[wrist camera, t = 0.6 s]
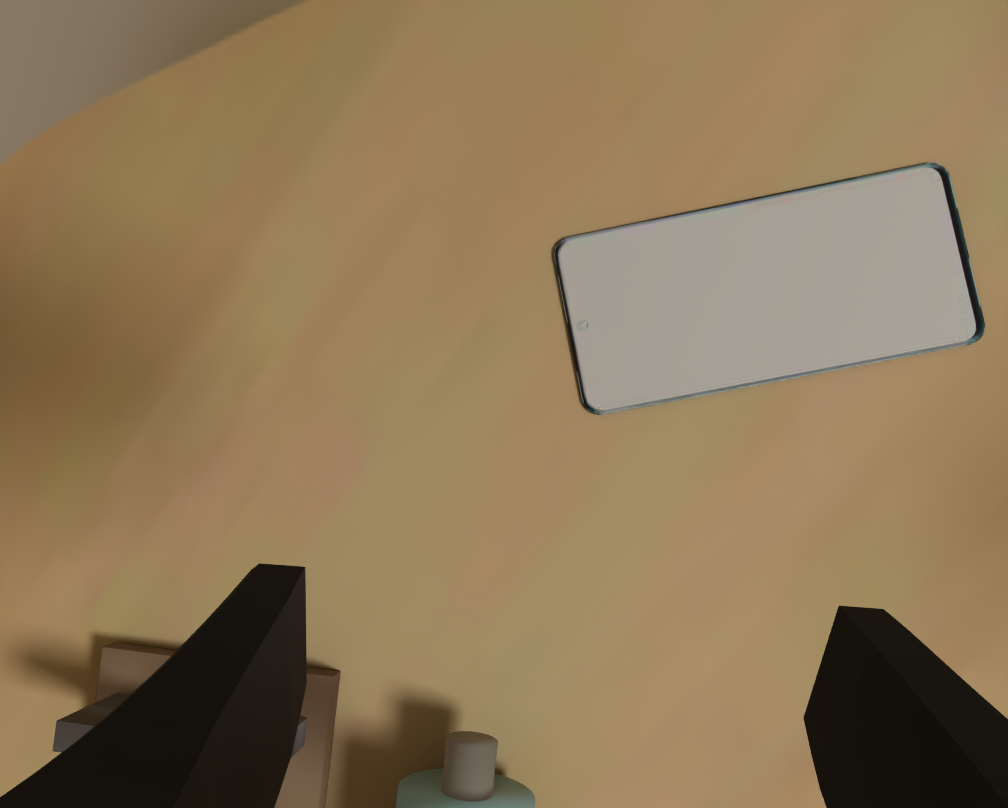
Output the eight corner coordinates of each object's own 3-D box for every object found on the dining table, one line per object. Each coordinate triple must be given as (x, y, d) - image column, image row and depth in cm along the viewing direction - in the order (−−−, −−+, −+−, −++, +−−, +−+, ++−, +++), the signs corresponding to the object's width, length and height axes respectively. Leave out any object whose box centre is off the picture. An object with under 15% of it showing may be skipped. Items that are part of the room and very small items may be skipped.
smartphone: (989, 340, 34) (585, 418, 35) (982, 342, 34) (585, 418, 35) (946, 158, 34) (551, 239, 36) (940, 163, 35) (551, 243, 36)
